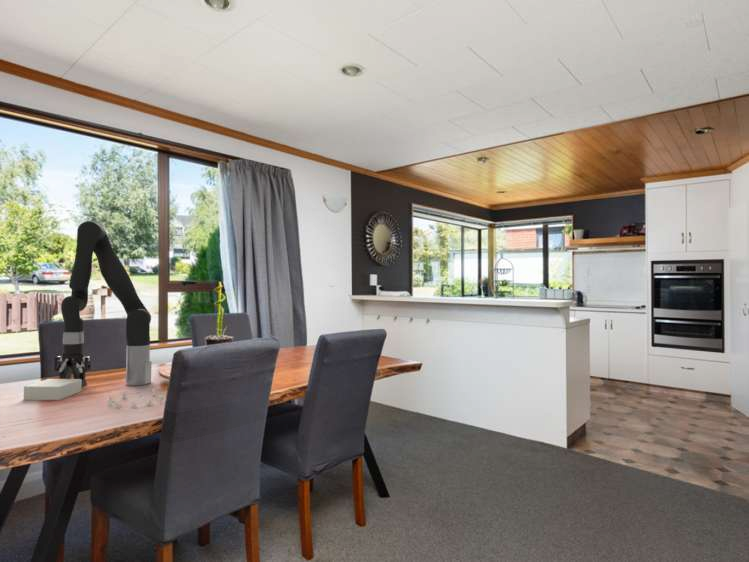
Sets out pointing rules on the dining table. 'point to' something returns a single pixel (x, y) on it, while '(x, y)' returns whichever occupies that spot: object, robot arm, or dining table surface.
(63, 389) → the cream block
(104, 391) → the dining table surface
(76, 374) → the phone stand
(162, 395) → the game piece set
